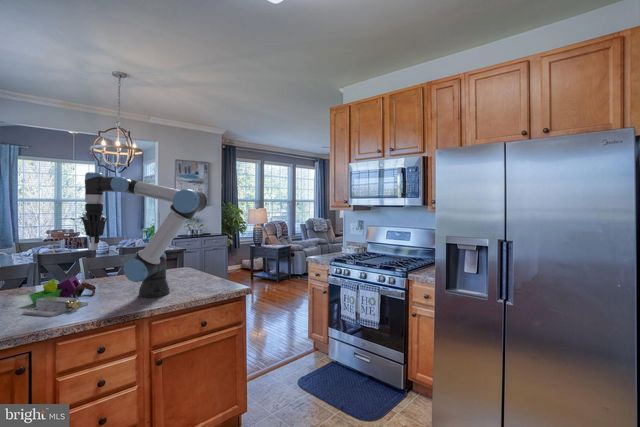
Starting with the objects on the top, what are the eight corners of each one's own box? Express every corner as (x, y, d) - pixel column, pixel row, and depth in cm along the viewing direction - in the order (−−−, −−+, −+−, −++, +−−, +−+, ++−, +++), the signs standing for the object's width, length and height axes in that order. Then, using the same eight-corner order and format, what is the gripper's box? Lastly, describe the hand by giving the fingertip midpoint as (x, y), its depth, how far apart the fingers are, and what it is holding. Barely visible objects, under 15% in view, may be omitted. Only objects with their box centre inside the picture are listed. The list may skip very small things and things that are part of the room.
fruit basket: (48, 298, 170) (48, 276, 170) (65, 298, 170) (64, 277, 170) (28, 305, 159) (27, 281, 158) (46, 305, 158) (45, 282, 158)
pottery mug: (75, 295, 178) (84, 281, 181) (91, 302, 179) (101, 288, 182) (64, 295, 167) (74, 280, 169) (82, 303, 168) (92, 288, 171)
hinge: (87, 304, 160) (87, 295, 160) (52, 316, 142) (52, 305, 142) (60, 302, 163) (60, 293, 162) (22, 314, 145) (22, 303, 145)
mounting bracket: (40, 310, 170) (76, 292, 175) (31, 296, 168) (68, 279, 173) (48, 305, 179) (83, 288, 184) (40, 291, 177) (75, 275, 182)
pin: (81, 308, 152) (80, 300, 152) (73, 310, 149) (73, 302, 148) (49, 305, 155) (49, 297, 155) (41, 308, 152) (40, 300, 152)
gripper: (111, 203, 169) (111, 249, 169) (88, 203, 171) (89, 248, 171) (99, 203, 161) (100, 251, 162) (76, 203, 163) (76, 250, 164)
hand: (94, 249), depth 166 cm, fingers closed
